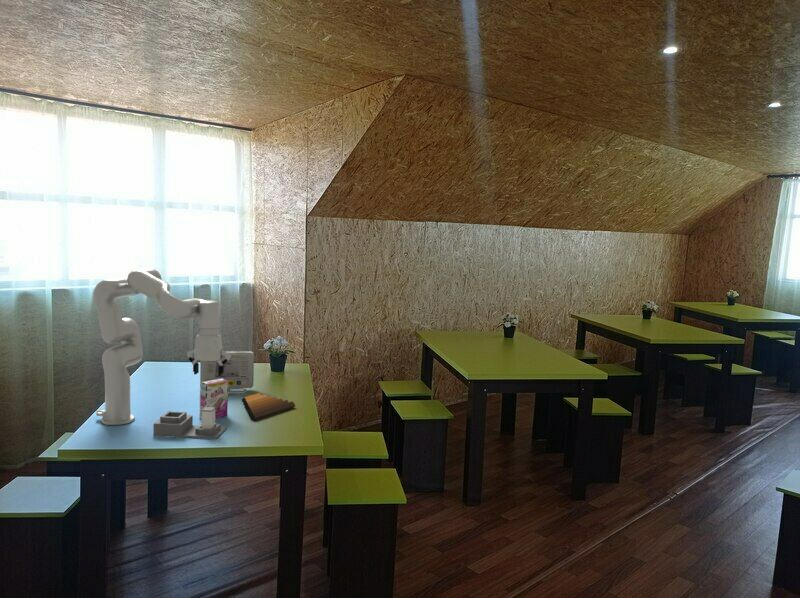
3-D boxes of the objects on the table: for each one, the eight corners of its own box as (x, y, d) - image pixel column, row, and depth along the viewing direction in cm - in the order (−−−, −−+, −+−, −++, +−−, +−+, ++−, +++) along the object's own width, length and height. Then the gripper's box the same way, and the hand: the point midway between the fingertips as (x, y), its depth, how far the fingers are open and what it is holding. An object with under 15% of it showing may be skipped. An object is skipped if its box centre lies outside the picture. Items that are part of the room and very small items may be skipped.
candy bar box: (205, 422, 249) (206, 384, 247) (199, 419, 252) (199, 382, 250) (228, 416, 258) (228, 379, 256) (221, 413, 261) (222, 377, 259)
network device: (253, 388, 303) (253, 350, 301) (253, 393, 295) (254, 354, 293) (201, 389, 297) (201, 350, 294) (199, 394, 288) (200, 354, 286)
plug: (201, 431, 235) (201, 409, 234) (205, 428, 239) (205, 406, 238) (211, 432, 235) (211, 410, 234) (215, 428, 239) (215, 407, 238)
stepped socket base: (153, 435, 230) (153, 418, 230) (166, 425, 242) (166, 409, 242) (216, 439, 230) (216, 421, 229) (226, 428, 242) (226, 412, 241)
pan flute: (255, 422, 253) (295, 409, 274) (255, 414, 253) (295, 402, 274) (216, 410, 266) (257, 398, 287) (216, 403, 266) (257, 392, 287)
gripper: (183, 332, 228) (183, 375, 230) (227, 334, 228) (227, 377, 230) (190, 329, 235) (190, 370, 237) (233, 331, 235) (232, 373, 237)
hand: (208, 374), depth 233 cm, fingers open, 9 cm apart
